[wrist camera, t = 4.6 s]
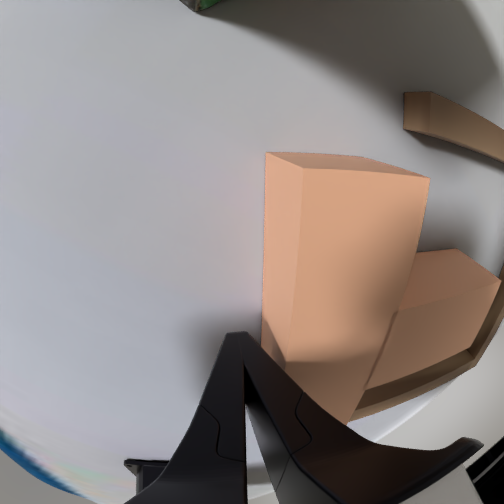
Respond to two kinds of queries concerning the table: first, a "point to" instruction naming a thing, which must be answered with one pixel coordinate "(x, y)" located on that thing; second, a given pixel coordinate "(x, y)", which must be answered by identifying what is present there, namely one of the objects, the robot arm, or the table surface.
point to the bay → (500, 148)
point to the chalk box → (199, 4)
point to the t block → (359, 278)
